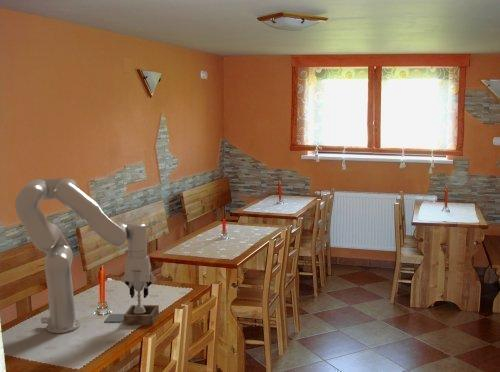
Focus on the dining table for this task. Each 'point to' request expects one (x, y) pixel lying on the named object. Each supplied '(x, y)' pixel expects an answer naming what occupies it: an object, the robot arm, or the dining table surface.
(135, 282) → the chalice
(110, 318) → the mat
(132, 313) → the wooden tray
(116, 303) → the dining table surface
